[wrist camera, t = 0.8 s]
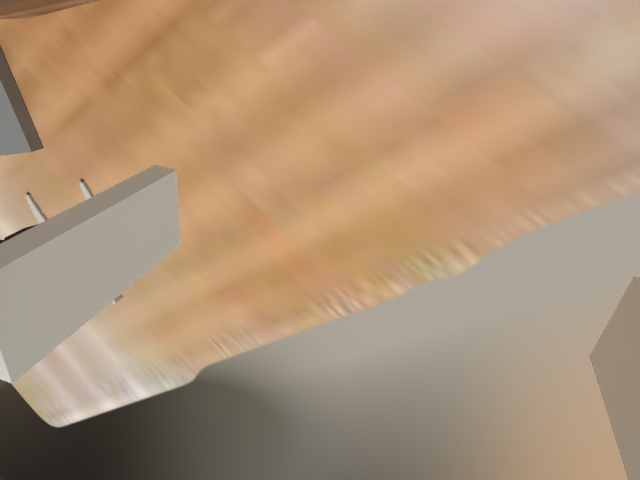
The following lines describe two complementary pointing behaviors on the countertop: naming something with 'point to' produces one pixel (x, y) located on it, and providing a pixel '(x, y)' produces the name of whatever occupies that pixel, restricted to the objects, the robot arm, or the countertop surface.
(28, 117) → the square plate with peg
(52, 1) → the collar
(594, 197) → the countertop surface
